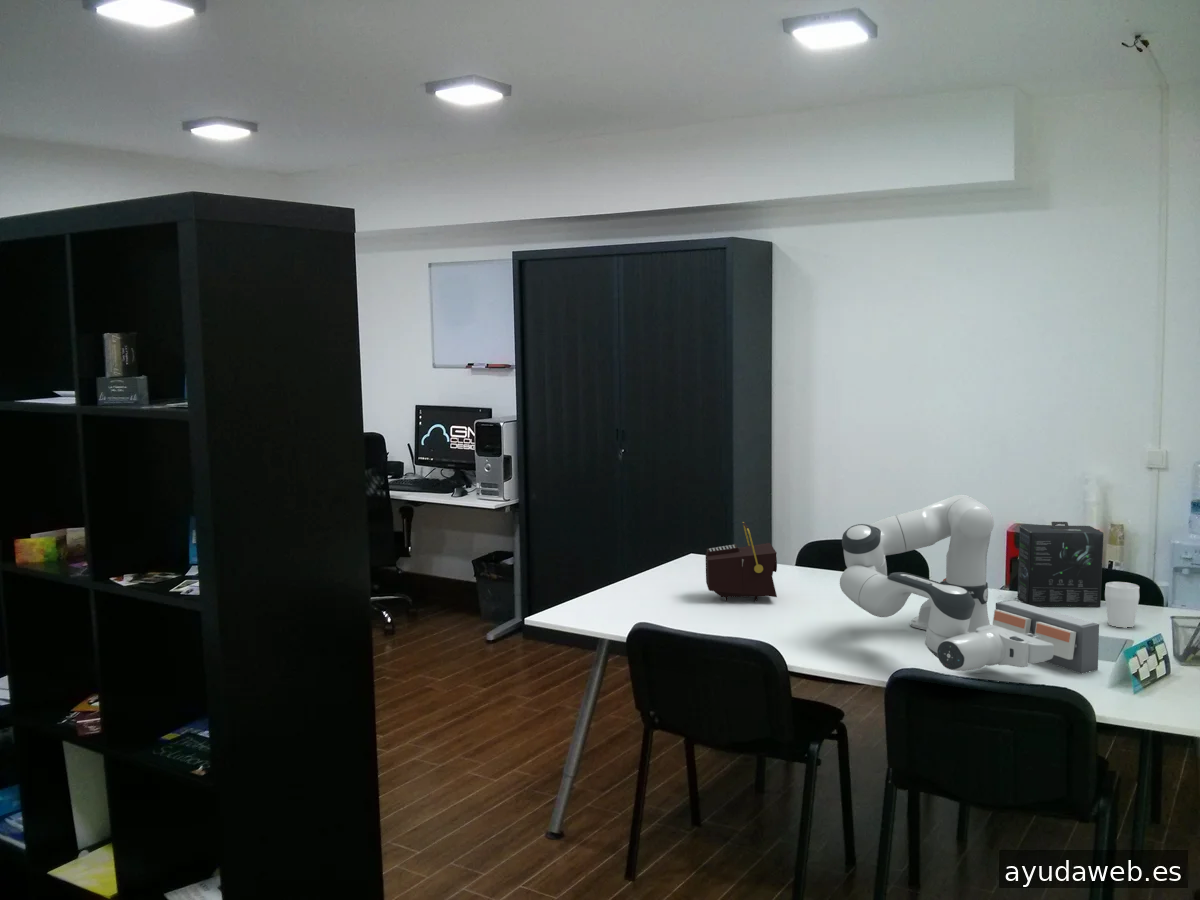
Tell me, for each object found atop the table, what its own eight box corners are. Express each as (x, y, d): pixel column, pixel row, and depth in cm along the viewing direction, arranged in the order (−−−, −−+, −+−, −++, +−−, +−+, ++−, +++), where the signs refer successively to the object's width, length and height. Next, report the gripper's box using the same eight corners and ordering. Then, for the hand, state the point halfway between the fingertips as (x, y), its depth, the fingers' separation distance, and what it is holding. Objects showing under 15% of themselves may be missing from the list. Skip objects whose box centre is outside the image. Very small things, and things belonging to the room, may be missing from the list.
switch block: (1081, 673, 259) (1082, 626, 258) (994, 645, 284) (995, 602, 283) (1113, 665, 264) (1115, 619, 263) (1025, 638, 289) (1026, 596, 288)
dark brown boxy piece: (781, 604, 332) (780, 528, 329) (709, 606, 332) (708, 530, 330) (773, 591, 348) (773, 519, 345) (705, 593, 349) (704, 521, 346)
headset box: (1088, 597, 330) (1090, 518, 327) (1102, 607, 318) (1104, 525, 315) (1015, 597, 332) (1017, 519, 329) (1027, 607, 321) (1029, 526, 318)
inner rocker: (1023, 645, 271) (1027, 619, 271) (989, 634, 281) (993, 609, 281) (1030, 645, 272) (1034, 619, 272) (996, 634, 282) (999, 609, 282)
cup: (1119, 631, 294) (1121, 590, 292) (1096, 622, 302) (1097, 583, 301) (1145, 628, 296) (1147, 587, 295) (1122, 619, 305) (1123, 580, 303)
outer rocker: (1068, 659, 258) (1072, 632, 258) (1031, 647, 269) (1034, 621, 268) (1075, 659, 259) (1079, 632, 259) (1038, 647, 270) (1041, 621, 270)
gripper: (964, 646, 264) (1003, 639, 270) (1028, 669, 246) (1068, 660, 252) (964, 623, 263) (1003, 615, 269) (1029, 644, 245) (1069, 635, 251)
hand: (1035, 637), depth 260 cm, fingers closed
